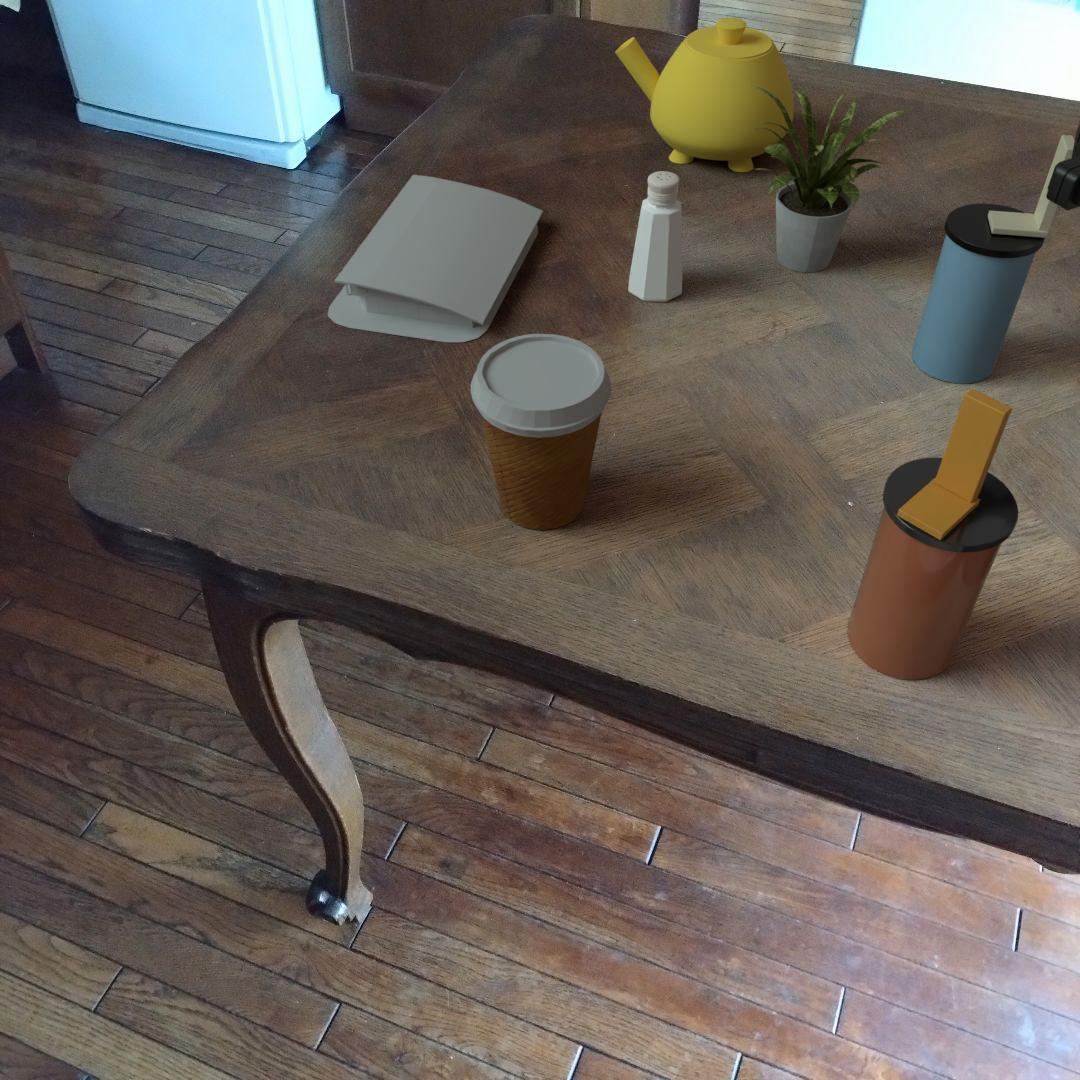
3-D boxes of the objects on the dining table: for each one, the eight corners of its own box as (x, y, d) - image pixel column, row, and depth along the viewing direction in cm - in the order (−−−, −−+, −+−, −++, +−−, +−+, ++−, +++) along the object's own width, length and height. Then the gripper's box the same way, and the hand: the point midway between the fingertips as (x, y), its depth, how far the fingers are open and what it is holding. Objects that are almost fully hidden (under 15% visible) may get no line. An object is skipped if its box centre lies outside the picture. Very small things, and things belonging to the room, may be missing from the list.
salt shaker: (640, 266, 102) (648, 157, 94) (693, 280, 100) (704, 170, 93) (616, 294, 99) (622, 183, 91) (670, 309, 97) (680, 197, 89)
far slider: (1041, 220, 83) (1072, 133, 78) (1047, 238, 81) (1079, 151, 76) (987, 216, 83) (1014, 130, 78) (991, 233, 81) (1019, 147, 76)
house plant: (690, 267, 102) (707, 98, 90) (754, 208, 110) (777, 45, 98) (828, 313, 96) (866, 139, 85) (885, 247, 104) (927, 79, 93)
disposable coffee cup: (457, 526, 78) (445, 395, 69) (509, 447, 84) (503, 318, 75) (579, 560, 75) (582, 429, 66) (623, 476, 81) (631, 346, 73)
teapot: (593, 164, 117) (597, 35, 108) (630, 107, 128) (636, -15, 118) (774, 190, 113) (794, 58, 103) (797, 129, 123) (817, 3, 113)
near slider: (935, 481, 62) (968, 385, 57) (979, 504, 60) (1016, 409, 55) (896, 515, 60) (927, 420, 55) (940, 540, 58) (976, 444, 53)
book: (317, 323, 96) (310, 285, 93) (405, 202, 112) (401, 167, 109) (479, 347, 93) (476, 309, 90) (545, 220, 109) (545, 184, 106)
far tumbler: (991, 339, 93) (1038, 206, 84) (1002, 390, 88) (1053, 254, 79) (905, 331, 94) (942, 199, 85) (910, 381, 89) (951, 246, 80)
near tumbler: (883, 580, 73) (929, 439, 64) (980, 639, 70) (1043, 498, 61) (820, 638, 70) (859, 497, 61) (918, 703, 66) (976, 565, 57)
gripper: (1197, 18, 67) (993, 80, 61) (1401, 97, 59) (1187, 176, 53) (1150, 133, 72) (958, 199, 67) (1331, 220, 64) (1130, 303, 59)
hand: (1060, 189), depth 60 cm, fingers closed
